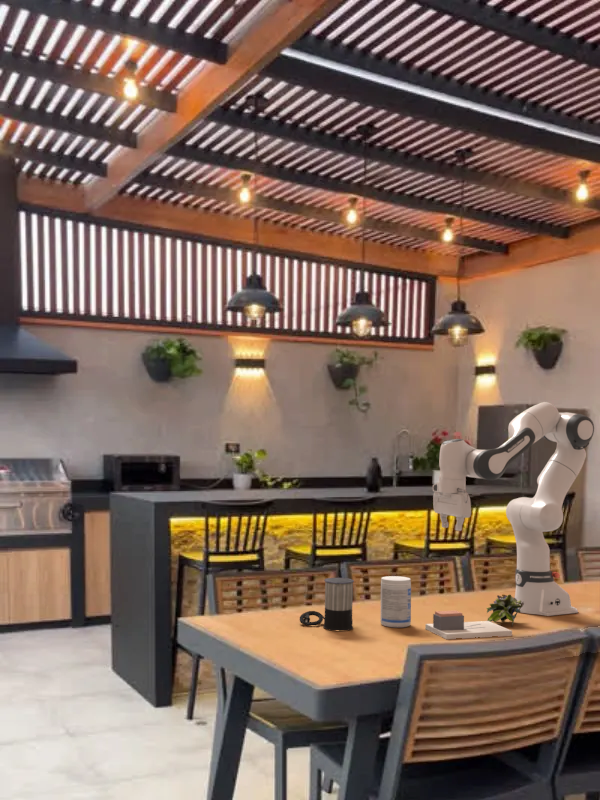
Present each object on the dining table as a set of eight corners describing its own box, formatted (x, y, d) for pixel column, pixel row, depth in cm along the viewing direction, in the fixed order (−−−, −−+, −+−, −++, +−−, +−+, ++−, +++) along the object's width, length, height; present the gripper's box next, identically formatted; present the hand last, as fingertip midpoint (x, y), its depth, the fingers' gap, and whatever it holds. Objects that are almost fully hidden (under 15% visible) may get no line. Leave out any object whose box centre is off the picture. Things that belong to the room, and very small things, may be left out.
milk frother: (356, 631, 254) (357, 582, 255) (304, 632, 252) (305, 582, 253) (346, 621, 268) (347, 574, 269) (297, 622, 266) (298, 574, 267)
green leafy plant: (502, 638, 273) (518, 606, 277) (520, 639, 263) (536, 606, 267) (475, 619, 272) (491, 587, 276) (492, 619, 262) (508, 586, 266)
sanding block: (456, 626, 258) (456, 610, 258) (463, 629, 254) (464, 613, 254) (433, 627, 256) (433, 611, 256) (440, 630, 251) (440, 614, 252)
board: (488, 625, 267) (488, 620, 267) (512, 635, 253) (512, 630, 253) (425, 628, 260) (425, 623, 260) (446, 639, 247) (446, 634, 247)
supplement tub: (415, 628, 261) (415, 580, 262) (386, 628, 259) (386, 580, 259) (404, 621, 270) (405, 575, 271) (376, 622, 268) (377, 575, 269)
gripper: (476, 489, 271) (475, 532, 270) (446, 485, 291) (446, 525, 290) (458, 489, 269) (458, 532, 269) (430, 485, 289) (429, 526, 288)
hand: (451, 529), depth 279 cm, fingers open, 8 cm apart
